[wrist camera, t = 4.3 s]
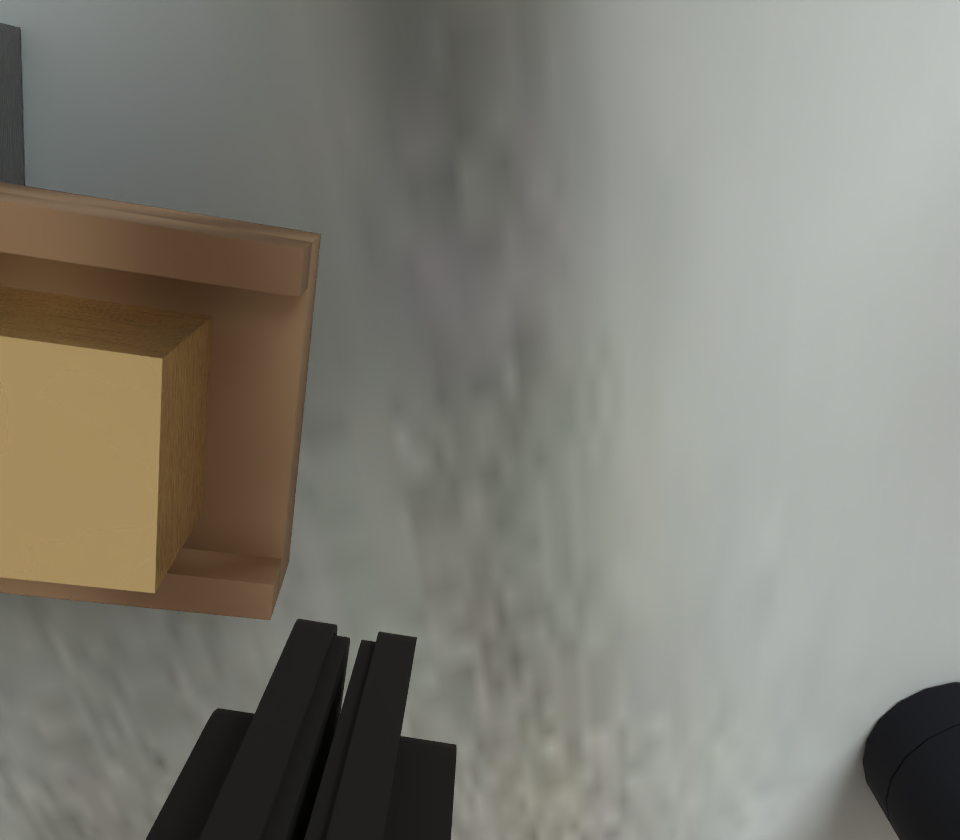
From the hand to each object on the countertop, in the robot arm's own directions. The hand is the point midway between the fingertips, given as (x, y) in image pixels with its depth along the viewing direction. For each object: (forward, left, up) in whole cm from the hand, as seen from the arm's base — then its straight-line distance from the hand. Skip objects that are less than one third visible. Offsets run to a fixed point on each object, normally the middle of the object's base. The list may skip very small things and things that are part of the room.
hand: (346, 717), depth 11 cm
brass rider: (+8, -1, -8) cm, 11 cm away
